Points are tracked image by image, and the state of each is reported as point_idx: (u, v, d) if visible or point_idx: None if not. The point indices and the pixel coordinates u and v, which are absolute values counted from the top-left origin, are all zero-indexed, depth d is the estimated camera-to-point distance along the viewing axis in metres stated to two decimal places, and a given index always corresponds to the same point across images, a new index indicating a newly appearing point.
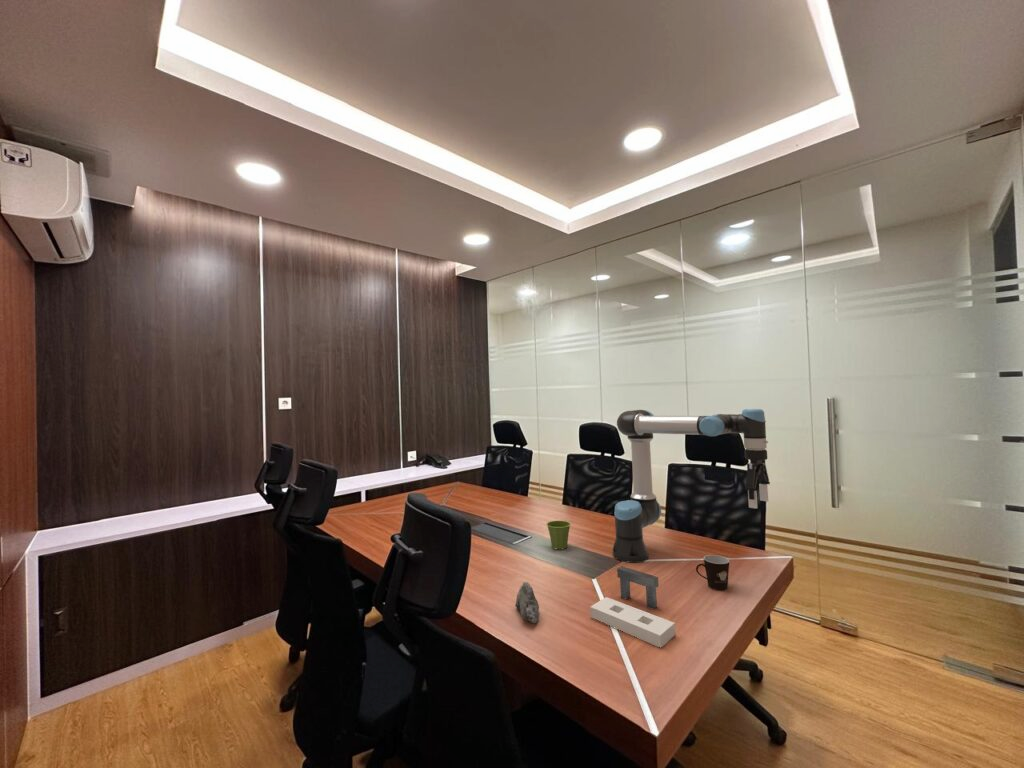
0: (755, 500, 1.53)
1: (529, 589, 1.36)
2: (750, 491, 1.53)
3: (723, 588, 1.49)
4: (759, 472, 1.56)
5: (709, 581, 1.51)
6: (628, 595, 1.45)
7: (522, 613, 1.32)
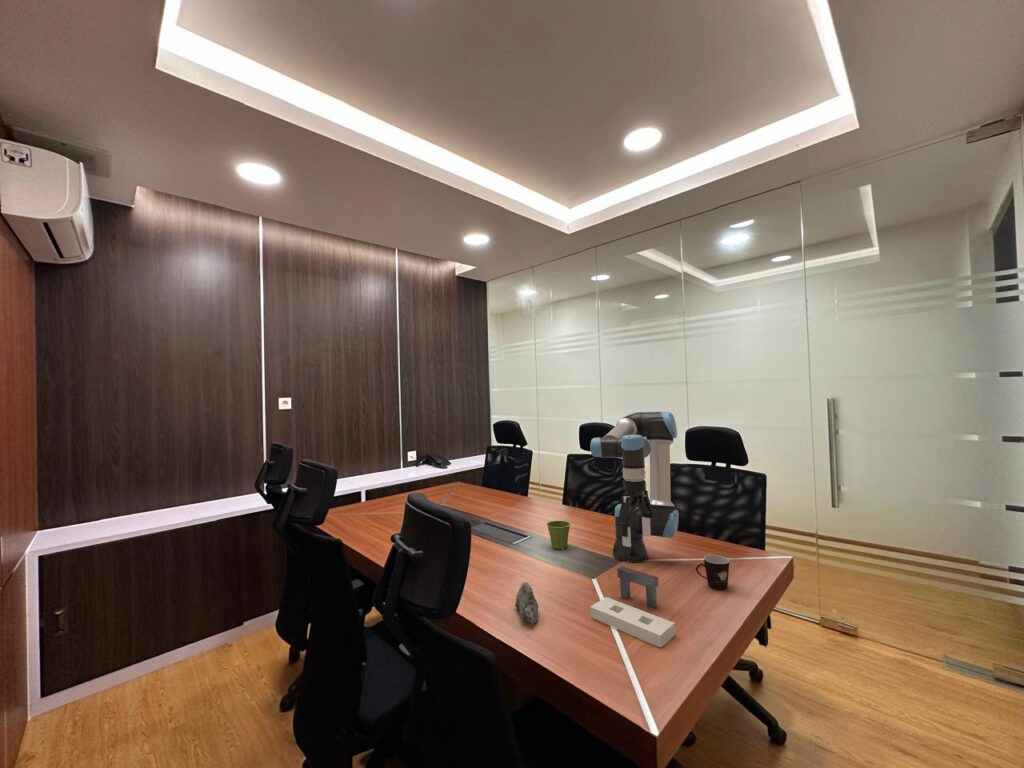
0: (628, 537, 1.38)
1: (528, 589, 1.36)
2: (623, 527, 1.38)
3: (723, 588, 1.49)
4: (635, 506, 1.41)
5: (709, 581, 1.51)
6: (628, 595, 1.45)
7: (521, 613, 1.32)
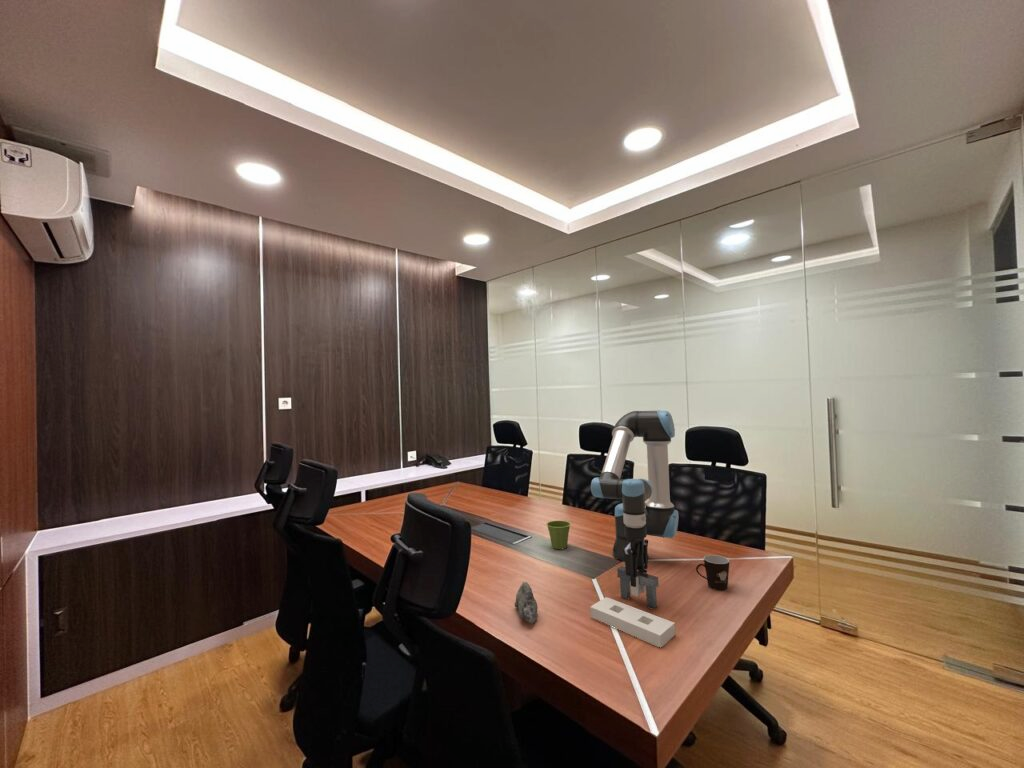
0: (637, 587, 1.41)
1: (528, 589, 1.36)
2: (631, 577, 1.41)
3: (723, 588, 1.49)
4: (638, 553, 1.41)
5: (709, 581, 1.51)
6: (628, 595, 1.45)
7: (520, 613, 1.32)
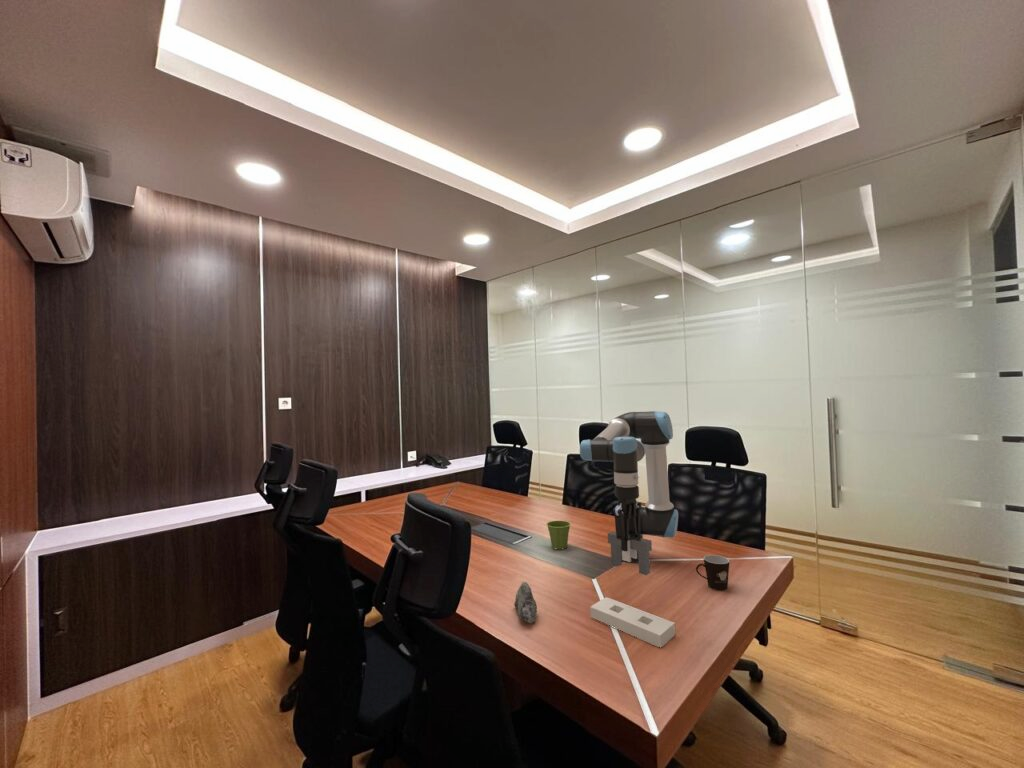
0: (628, 552, 1.30)
1: (527, 589, 1.36)
2: (622, 541, 1.30)
3: (723, 588, 1.49)
4: (629, 515, 1.30)
5: (709, 581, 1.51)
6: (619, 562, 1.35)
7: (519, 613, 1.32)
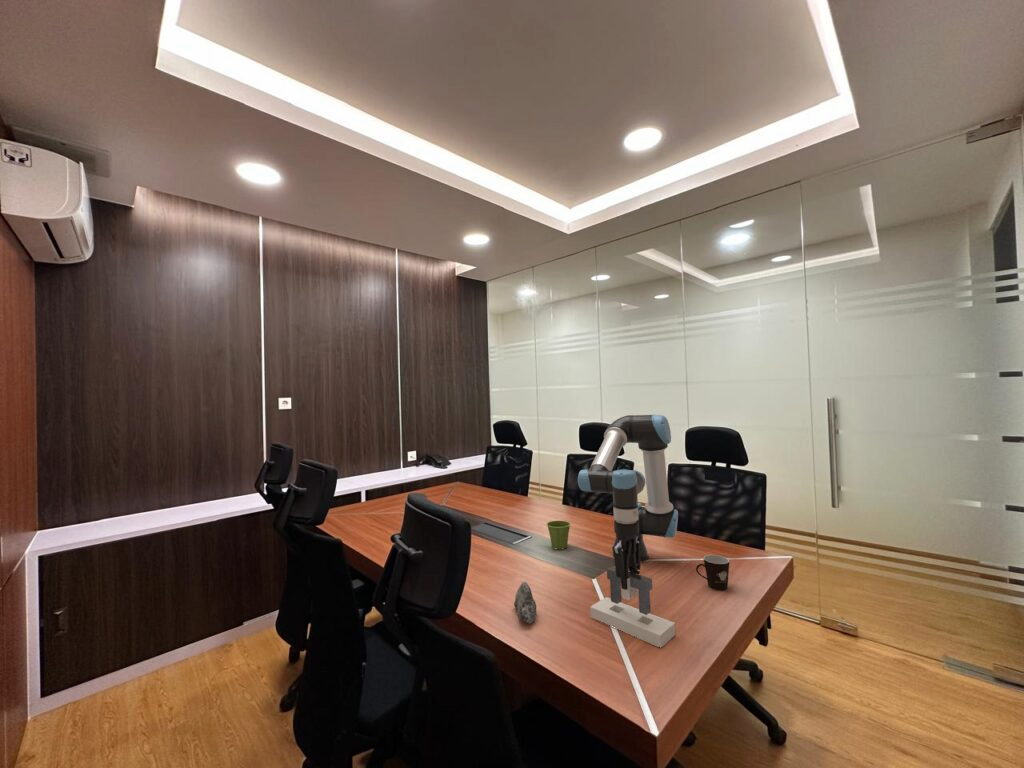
0: (628, 590, 1.26)
1: (526, 589, 1.36)
2: (622, 579, 1.26)
3: (723, 588, 1.49)
4: (629, 552, 1.27)
5: (709, 581, 1.51)
6: (619, 599, 1.31)
7: (518, 613, 1.32)
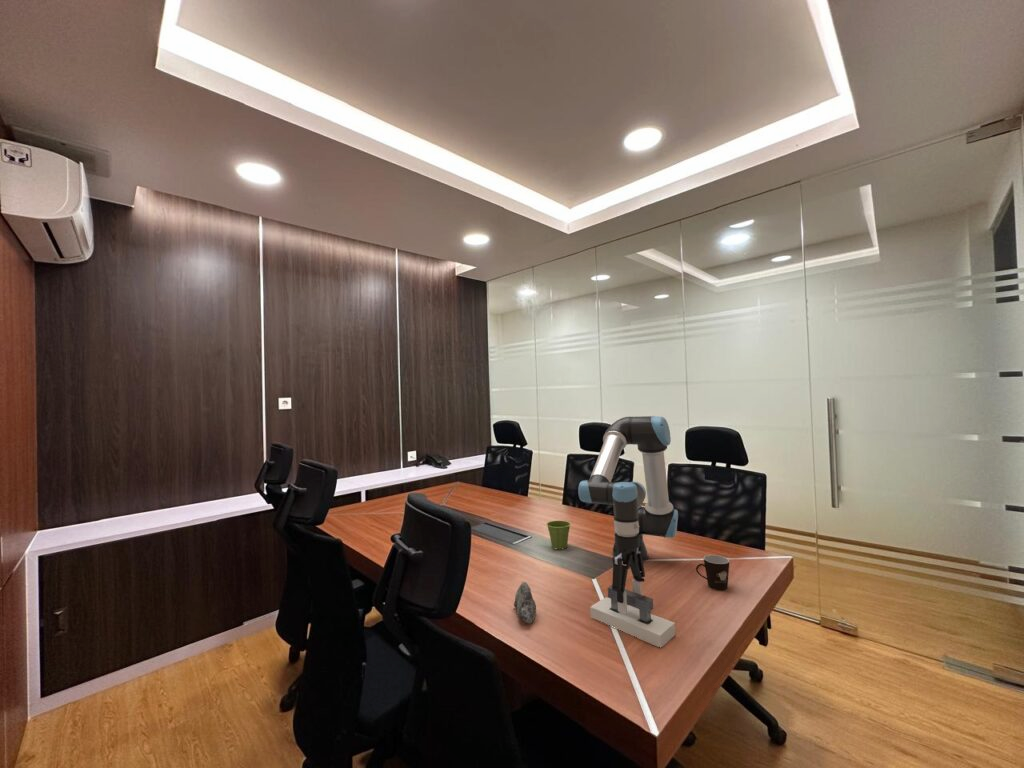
0: (624, 604, 1.24)
1: (526, 589, 1.36)
2: (618, 592, 1.24)
3: (723, 588, 1.49)
4: (629, 565, 1.26)
5: (709, 581, 1.51)
6: None
7: (518, 613, 1.32)
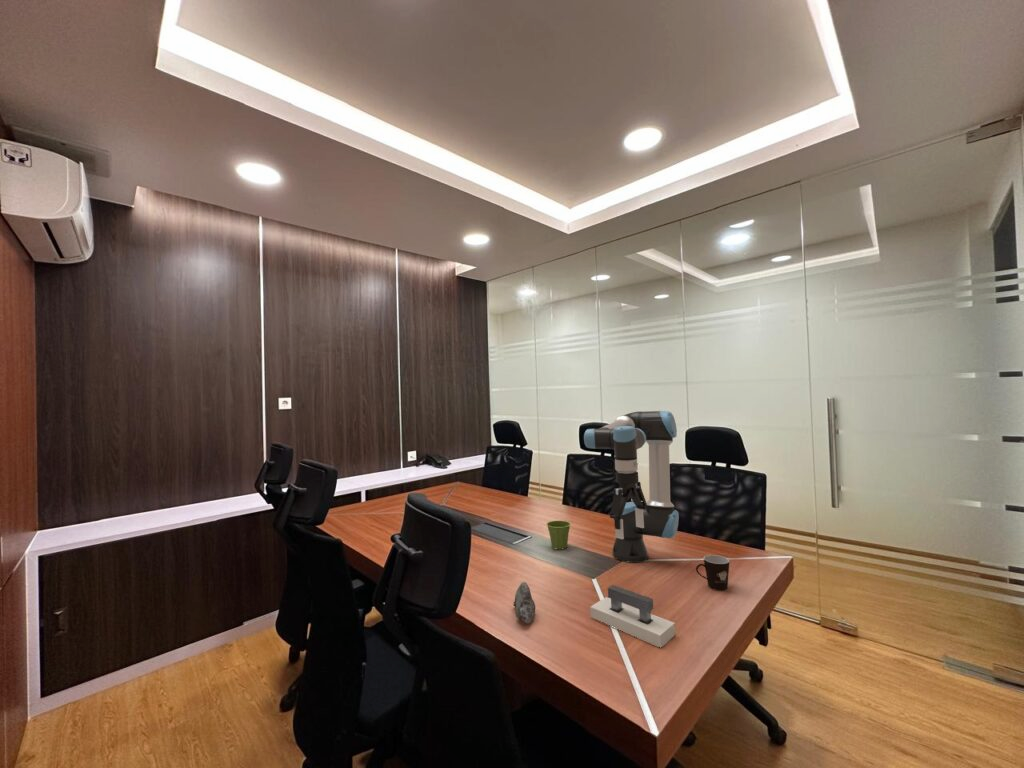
0: (621, 530, 1.37)
1: (525, 589, 1.36)
2: (615, 520, 1.37)
3: (723, 588, 1.49)
4: (628, 498, 1.39)
5: (709, 581, 1.51)
6: None
7: (516, 612, 1.32)
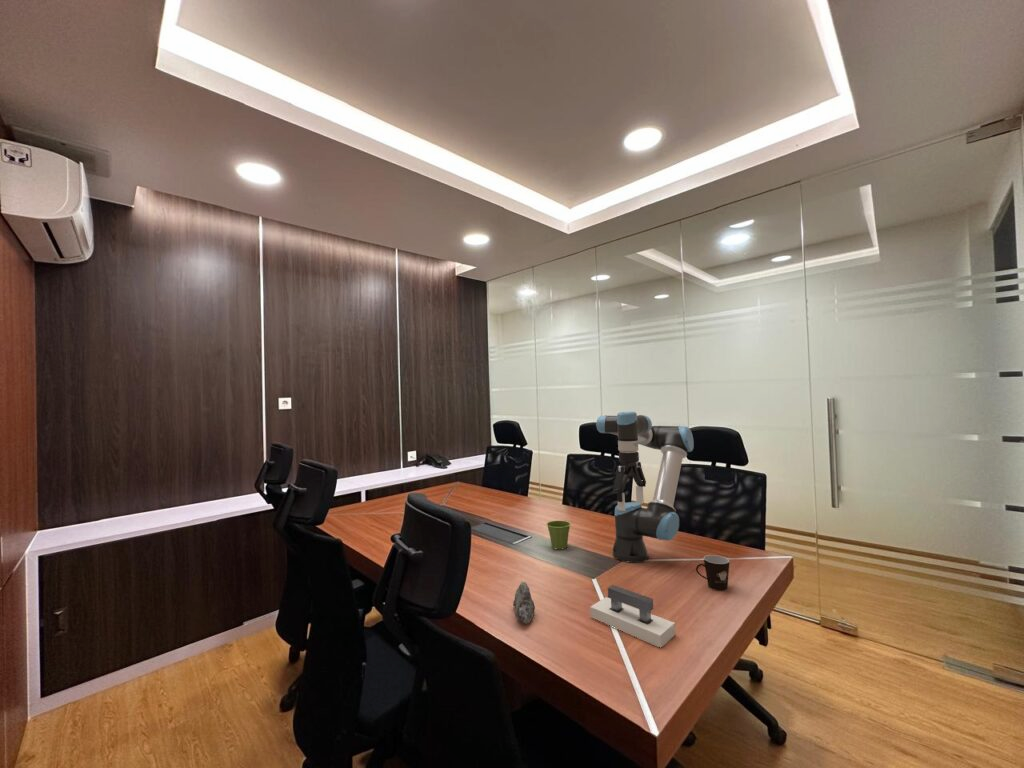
0: (623, 502, 1.54)
1: (525, 589, 1.37)
2: (618, 493, 1.54)
3: (723, 588, 1.49)
4: (629, 474, 1.57)
5: (709, 581, 1.51)
6: None
7: (516, 612, 1.32)
